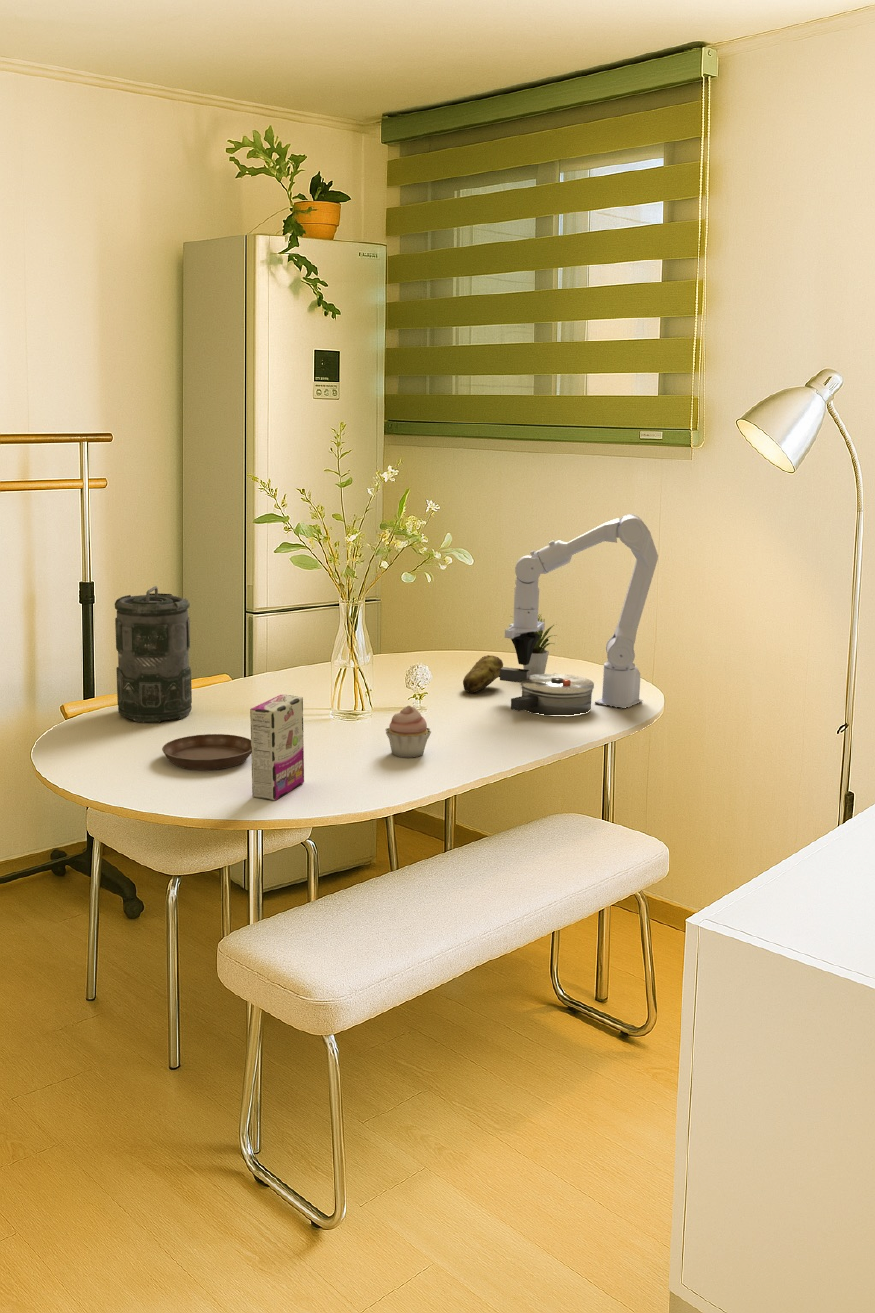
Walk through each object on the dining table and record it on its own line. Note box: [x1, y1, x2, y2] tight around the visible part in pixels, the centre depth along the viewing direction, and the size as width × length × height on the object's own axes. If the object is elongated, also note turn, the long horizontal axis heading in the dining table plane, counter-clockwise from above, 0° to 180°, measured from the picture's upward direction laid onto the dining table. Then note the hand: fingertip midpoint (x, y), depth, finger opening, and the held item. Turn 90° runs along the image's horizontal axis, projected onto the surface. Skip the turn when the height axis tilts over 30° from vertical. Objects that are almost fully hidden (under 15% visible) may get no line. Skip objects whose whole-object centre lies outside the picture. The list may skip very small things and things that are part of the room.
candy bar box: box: [249, 694, 305, 801], centre depth 213 cm, size 11×5×16 cm, turn 158°
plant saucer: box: [161, 733, 252, 771], centre depth 231 cm, size 18×18×3 cm
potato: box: [462, 654, 504, 693], centre depth 291 cm, size 8×13×8 cm, turn 126°
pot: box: [510, 686, 594, 715], centre depth 274 cm, size 22×16×5 cm
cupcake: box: [385, 705, 432, 759], centre depth 237 cm, size 9×9×10 cm
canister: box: [114, 585, 193, 724], centre depth 259 cm, size 16×16×28 cm
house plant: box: [510, 613, 558, 675], centre depth 308 cm, size 14×14×16 cm
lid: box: [499, 666, 595, 694], centre depth 276 cm, size 22×17×3 cm
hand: (523, 664), depth 282 cm, fingers closed
